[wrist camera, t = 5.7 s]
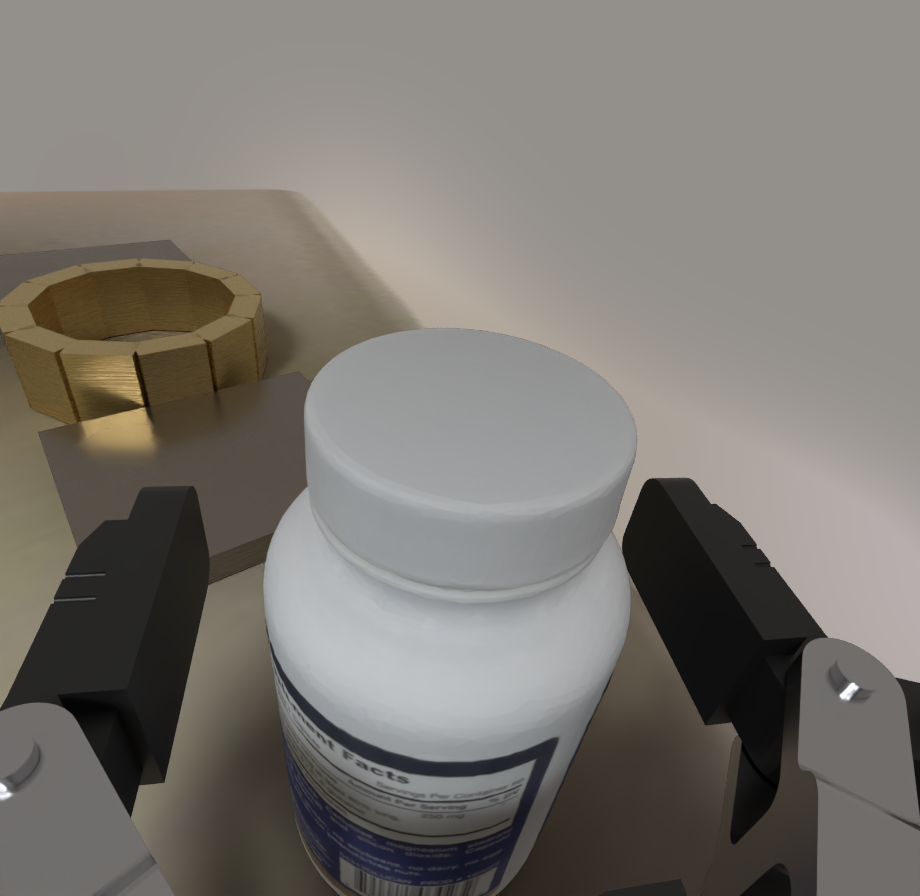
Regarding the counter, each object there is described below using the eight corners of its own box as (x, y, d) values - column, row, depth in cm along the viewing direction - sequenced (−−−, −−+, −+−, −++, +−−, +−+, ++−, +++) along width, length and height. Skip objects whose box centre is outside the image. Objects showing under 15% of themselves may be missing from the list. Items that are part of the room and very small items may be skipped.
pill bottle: (427, 629, 16) (471, 280, 10) (590, 784, 13) (781, 423, 7) (241, 768, 13) (149, 364, 7) (406, 1017, 10) (491, 691, 4)
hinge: (105, 625, 15) (72, 542, 13) (-14, 277, 30) (-37, 216, 28) (404, 504, 20) (410, 431, 18) (172, 256, 35) (163, 203, 33)
